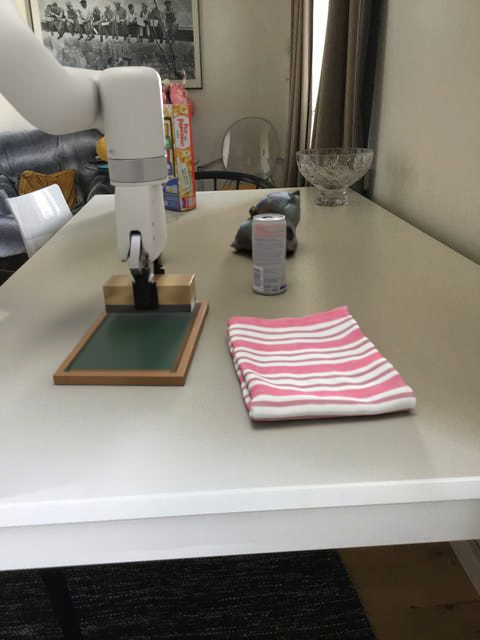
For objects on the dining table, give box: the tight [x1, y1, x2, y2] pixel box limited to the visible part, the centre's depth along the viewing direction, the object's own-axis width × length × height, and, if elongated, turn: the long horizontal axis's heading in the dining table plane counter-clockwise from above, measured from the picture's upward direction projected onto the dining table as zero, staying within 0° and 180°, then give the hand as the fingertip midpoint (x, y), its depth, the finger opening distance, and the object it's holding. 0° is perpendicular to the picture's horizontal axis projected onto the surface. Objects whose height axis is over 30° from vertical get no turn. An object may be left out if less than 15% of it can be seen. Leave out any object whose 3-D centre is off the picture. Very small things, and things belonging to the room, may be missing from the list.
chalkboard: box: [52, 300, 210, 387], centre depth 75 cm, size 15×24×1 cm, turn 176°
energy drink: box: [251, 214, 287, 296], centre depth 90 cm, size 5×5×12 cm
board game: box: [162, 103, 197, 212], centre depth 155 cm, size 20×6×27 cm, turn 46°
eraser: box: [102, 273, 197, 313], centre depth 80 cm, size 12×5×4 cm, turn 86°
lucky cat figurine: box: [229, 189, 302, 255], centre depth 113 cm, size 15×12×14 cm
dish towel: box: [226, 305, 417, 422], centre depth 66 cm, size 17×23×4 cm
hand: (151, 301), depth 80 cm, fingers closed on eraser, 5 cm apart
